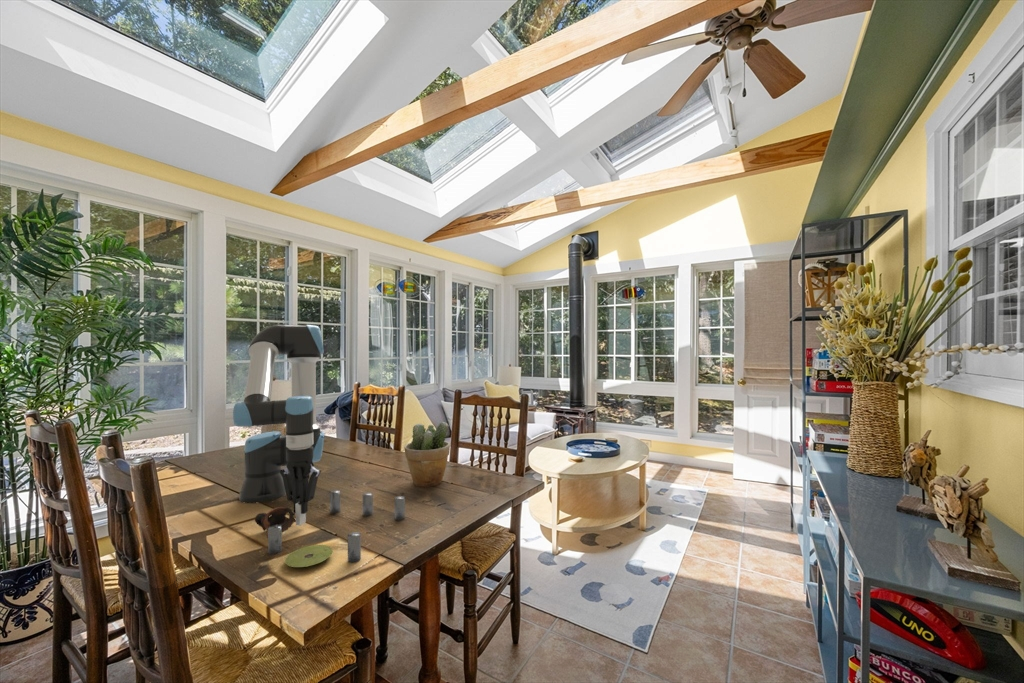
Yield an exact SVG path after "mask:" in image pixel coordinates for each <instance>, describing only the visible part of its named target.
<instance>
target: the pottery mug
mask: <svg viewBox="0 0 1024 683" xmlns="http://www.w3.org/2000/svg"><path fill="white" fill-rule="evenodd" d="M287 514H289V517H287V516H286V515H287ZM294 515H295V513H294V511H293V510H292V509H291V508H290V507H287V506H278V507H274V508H272V509H271V510H269V511H268V512H267V513H265V512H260V513H257V514H256V515H255V517H254V522H255V523H256V525H258V526H259V527H261V528H262V530H263V531H264V532H265V531H267V534H266V537H267V539H268V528H269V527H270V526H273V525H281V526H282V533H283V532H285V531H288V530H289V528H291V527H292V525H294V523H296V517H295V516H294Z"/></svg>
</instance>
